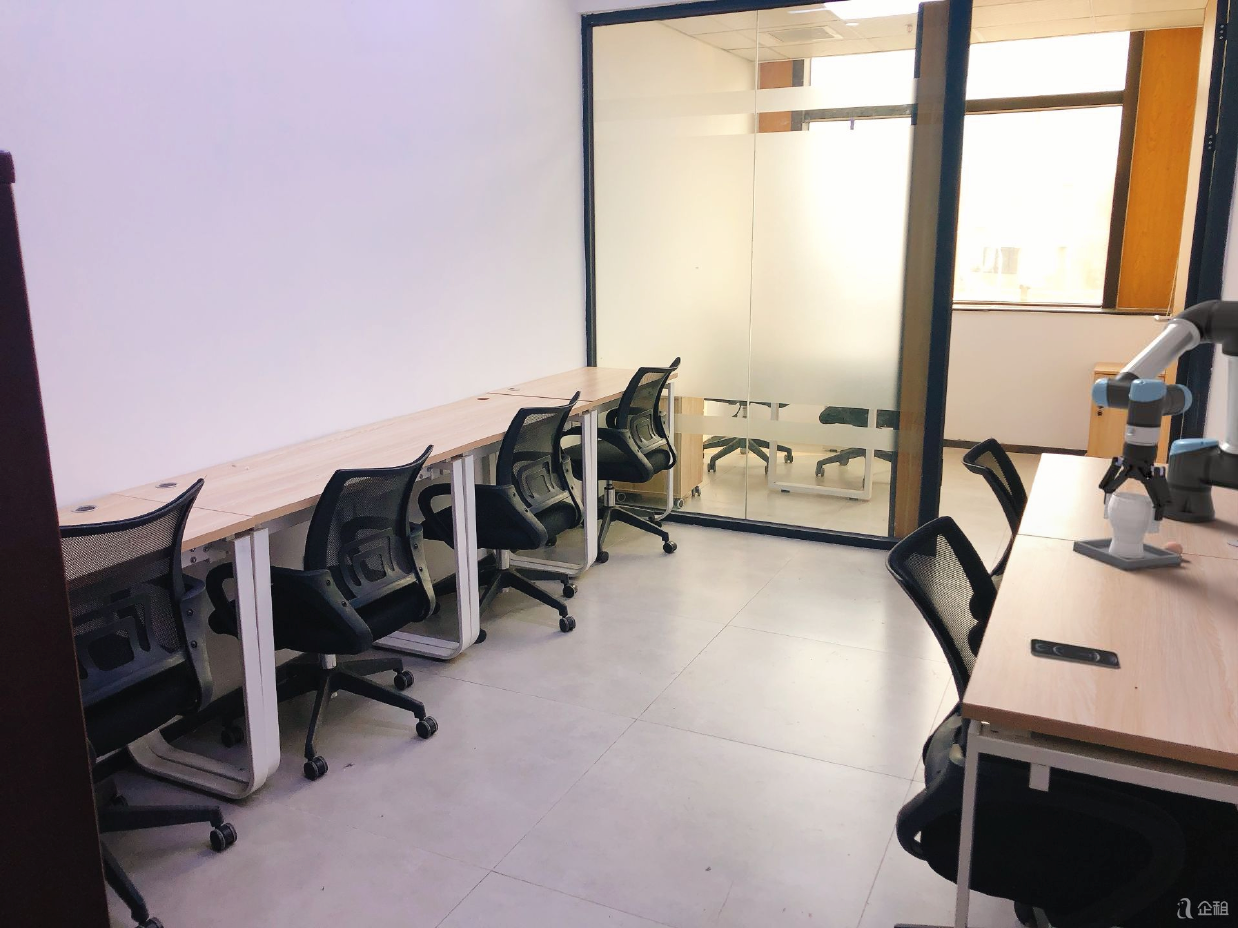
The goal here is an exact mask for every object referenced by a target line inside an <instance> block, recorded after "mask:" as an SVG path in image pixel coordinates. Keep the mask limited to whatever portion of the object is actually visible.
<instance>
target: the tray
mask: <svg viewBox="0 0 1238 928" xmlns="http://www.w3.org/2000/svg"><path fill="white" fill-rule="evenodd" d="M1112 539H1113V537H1107V538H1096V539H1095V538H1094V539H1086V540H1077V541H1076V540H1075V541H1073V549H1072V551H1074V552H1076V553H1079V554H1081V555H1084V556H1087V557H1089V558H1091V559H1094V560H1096V561H1100V562H1103V563H1105V564H1108V565H1110V566H1113V567H1115V568H1118V569H1120V570H1123V571H1126V572H1128V571H1139V570H1147V569H1156V568H1164V567H1173V566H1175V567H1176V566H1181V565H1182V559H1183V555H1182V554H1181V555H1179V554H1176V553H1173V552H1170V551H1167V550H1164V548H1161V547H1158V546H1155V545H1152V544H1149V543H1146V542H1144V541H1143V557H1142V558H1137V559H1133V558H1124V557H1119V556H1116V555H1113V554H1111V553H1109V548H1110V545H1111V542H1112Z"/></svg>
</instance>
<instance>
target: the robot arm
mask: <svg viewBox="0 0 1238 928" xmlns="http://www.w3.org/2000/svg"><path fill="white" fill-rule="evenodd" d="M1208 343H1209V344H1218V345H1221V354H1222V355H1223V356H1225V358H1227V397H1226V398H1227V401H1226V429H1225V430H1226V434H1225V435H1226V436H1225V439H1224V440H1223V441H1221V442H1220V441H1219V440H1218V439H1214V438H1181V439H1177V440H1174V441H1173V442H1172V444H1171V447H1170V451H1169V453H1168V455H1169V457H1168V458H1169V459H1168V464H1167V469H1166V466H1155V461H1156V459H1157V458H1158V452H1159V445H1158V444H1157V443H1160V439H1161V438H1160V436H1161V428H1162V420H1163V417H1167V416H1176V415H1180V414H1182V413H1184V412H1186V411H1188V409H1189V408H1190V407H1191V406H1192V402H1193V395H1192V392H1191V391H1190V389H1189V388H1188V387H1186V386H1185V385H1183V384H1178V383H1177V384H1174V383H1171V384H1167V383H1166V382H1165V381H1164V380H1162V379H1161V380H1160V379H1157V378H1158V377H1159V376H1160V375H1161V374H1163V373H1164V372H1165V371H1166V370H1167V369H1168V368H1169V367H1170V366H1171V365H1172V364H1173V363H1174V362H1175V361H1176V360H1177V359H1178V358H1180V357H1181V356H1182V355H1183V354H1184V353H1185V352H1186V351H1190V350H1192V349H1194V348H1196V347H1197V346H1198V345H1201V344H1208ZM1091 398H1092V402H1094V405H1096V406H1098V407H1099V406H1100V407H1105V408H1108V409H1116V410H1117V409H1118V410H1123V411H1124V410H1126V411H1127V417H1126V422H1125V431H1124V440H1125V441H1124V442H1123V445H1122V446H1123V447H1122V455H1120V456H1119V455H1117V456H1116V455H1115V456H1113V457H1112V458H1111V462H1110V465H1109V467H1108V469H1107V471H1106V473H1105V474H1104V475H1103V477H1102V479H1101V481H1100V483H1099V484H1098V486H1097V487H1098V489H1099V490H1103V493H1104V497H1103V505H1104V511H1103V519H1105V520H1107V519H1108V520H1109V516H1108V504H1109V502H1110V499H1111V497H1112V494H1113V493H1117V490H1118V489H1119V488H1120V487H1121V486H1122V485H1123V484H1124V483H1125V482H1126V481H1127V480H1128V479H1133V480H1135V481H1139V482H1140V483H1141V484H1142V485H1143V486H1144V489H1145V490H1146V492H1147V495H1148V496H1149V497H1150V499H1151V501H1152V503H1153V505H1154V506H1153V507H1151V511H1150V518H1149V526H1148V531H1147V534H1159V533H1160V527H1161V526H1160V525H1161V522H1162V521H1163V519H1164V518H1167V519H1170V520H1177V521H1180V522H1181V521H1182V522H1190V523H1207V522H1208V523H1209V522H1213V521H1215V517H1216V511H1215V508H1214V502H1213V500H1214V499H1213V496H1212V489H1213V487H1216V488H1219V489H1220V488H1221V489H1227V490H1232V491H1234V492H1235V491H1236V492H1238V300H1222V299H1213V300H1207V301H1202V302H1200V303H1197V304H1194V305H1193V306H1190V307H1188V308H1186V309H1185V310H1183V311H1180V312H1179V313H1178V314H1175V316H1174V317H1172V318H1171V319H1170V320H1168V322H1166V324H1165V325H1164V327H1163V332H1162V333H1160V334H1159V335H1158V336H1157V337H1156V338H1155V339H1154V340H1153V341H1151V343H1150V344H1148V345H1147V346H1146V347H1145V348H1144V349H1142V351H1141V352H1140V353H1139V354H1138V355H1137V356H1136V357H1135V358H1133V360H1131V361H1130V362H1129V363H1127V365H1126V366H1125V367H1124V368H1122V370H1121V371H1119V372H1118V374H1116V375H1115V376H1114V377H1112V378H1110V377H1101V378H1099V379H1097V380H1096V381H1095V382H1094V384H1093V386H1092V389H1091ZM1122 467H1123V468H1122ZM1121 469H1122V470H1121ZM1166 471H1167V472H1166Z"/></svg>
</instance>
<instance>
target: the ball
mask: <svg viewBox="0 0 1238 928" xmlns="http://www.w3.org/2000/svg"><path fill="white" fill-rule="evenodd" d="M1163 549H1164V550H1167V551H1170V552H1173V553H1176V554H1179V555H1182V554H1183V546H1182V544H1180V543H1179V542H1177V541H1170V542H1169V541H1168V542H1167V543H1166V544H1165V545H1164V548H1163Z"/></svg>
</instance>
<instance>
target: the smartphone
mask: <svg viewBox="0 0 1238 928" xmlns="http://www.w3.org/2000/svg"><path fill="white" fill-rule="evenodd" d="M1030 654H1032V655H1033V656H1035V657H1041V658H1047V659H1048V658H1049V659H1052V660H1053V659H1054V660H1060V661H1065V662H1066V661H1067V662H1073V663H1080V664H1086V665H1093V666H1099V667H1103V668H1110V669H1111V668H1112V669H1119V668H1120V667H1121V663H1120V660H1119V656H1118V653H1116V652H1114V651H1111V650H1110V651H1109V650H1105V649H1099V648H1094V647H1087V646H1080V645H1075V644H1068V643H1064V642H1063V643H1062V642H1057V641H1056V642H1055V641H1052V640H1051V641H1050V640H1044V639H1039V638H1031V639H1030Z"/></svg>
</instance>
